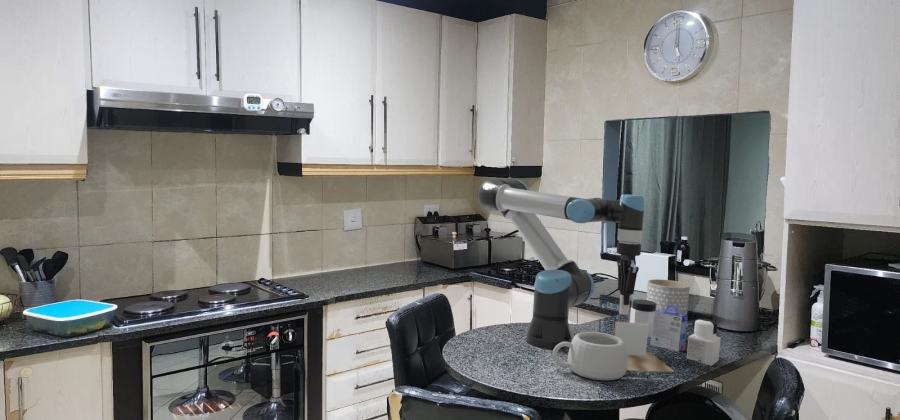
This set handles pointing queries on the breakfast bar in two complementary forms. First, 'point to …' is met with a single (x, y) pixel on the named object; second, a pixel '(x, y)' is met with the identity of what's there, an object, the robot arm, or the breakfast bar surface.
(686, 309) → the planter
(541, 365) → the breakfast bar surface
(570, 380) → the breakfast bar surface
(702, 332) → the container
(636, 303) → the jar
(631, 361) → the plate
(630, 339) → the tile
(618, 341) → the mug
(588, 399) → the breakfast bar surface
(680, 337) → the ink cartridge box
